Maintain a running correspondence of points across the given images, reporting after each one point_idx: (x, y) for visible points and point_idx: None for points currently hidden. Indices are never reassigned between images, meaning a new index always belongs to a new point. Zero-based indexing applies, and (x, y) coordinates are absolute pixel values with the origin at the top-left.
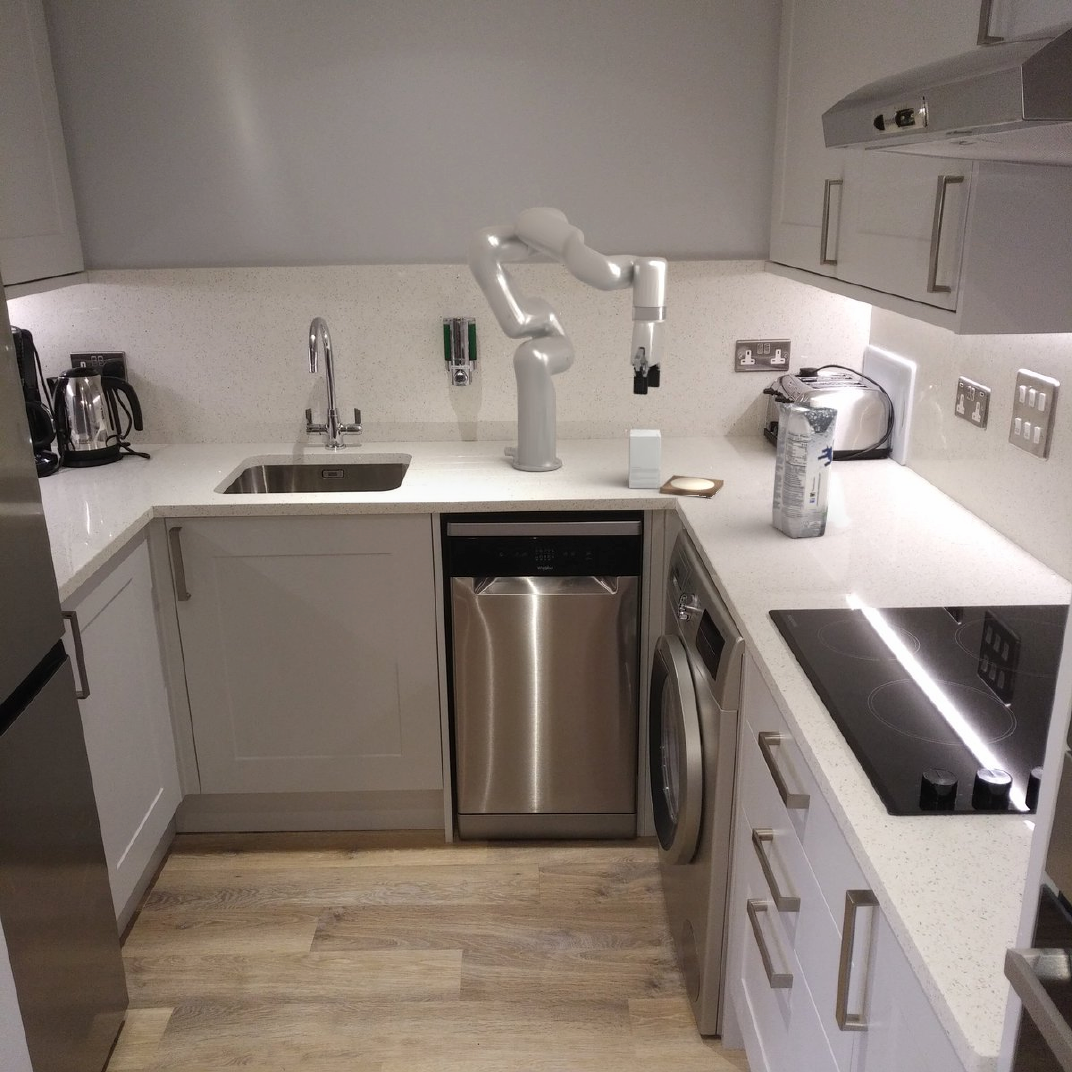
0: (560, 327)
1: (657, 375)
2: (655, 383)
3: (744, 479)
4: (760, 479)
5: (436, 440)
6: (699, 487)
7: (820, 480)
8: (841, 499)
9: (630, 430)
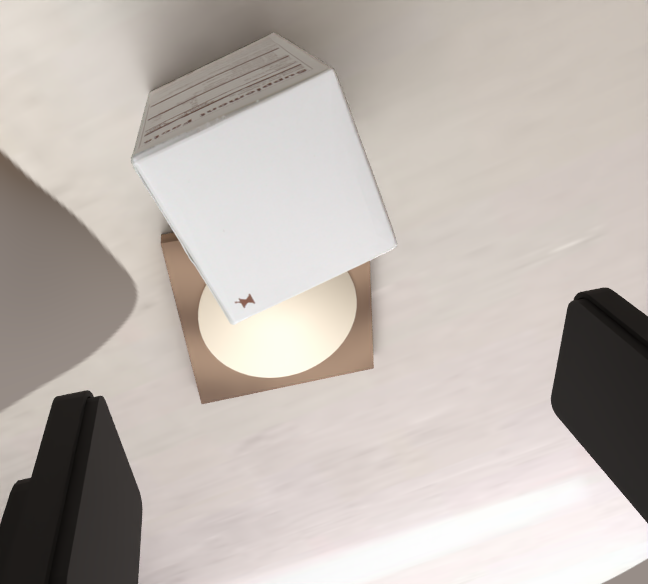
0: None
1: (636, 495)
2: (574, 409)
3: (456, 376)
4: (470, 406)
5: None
6: (241, 352)
7: None
8: (360, 581)
9: (293, 92)
